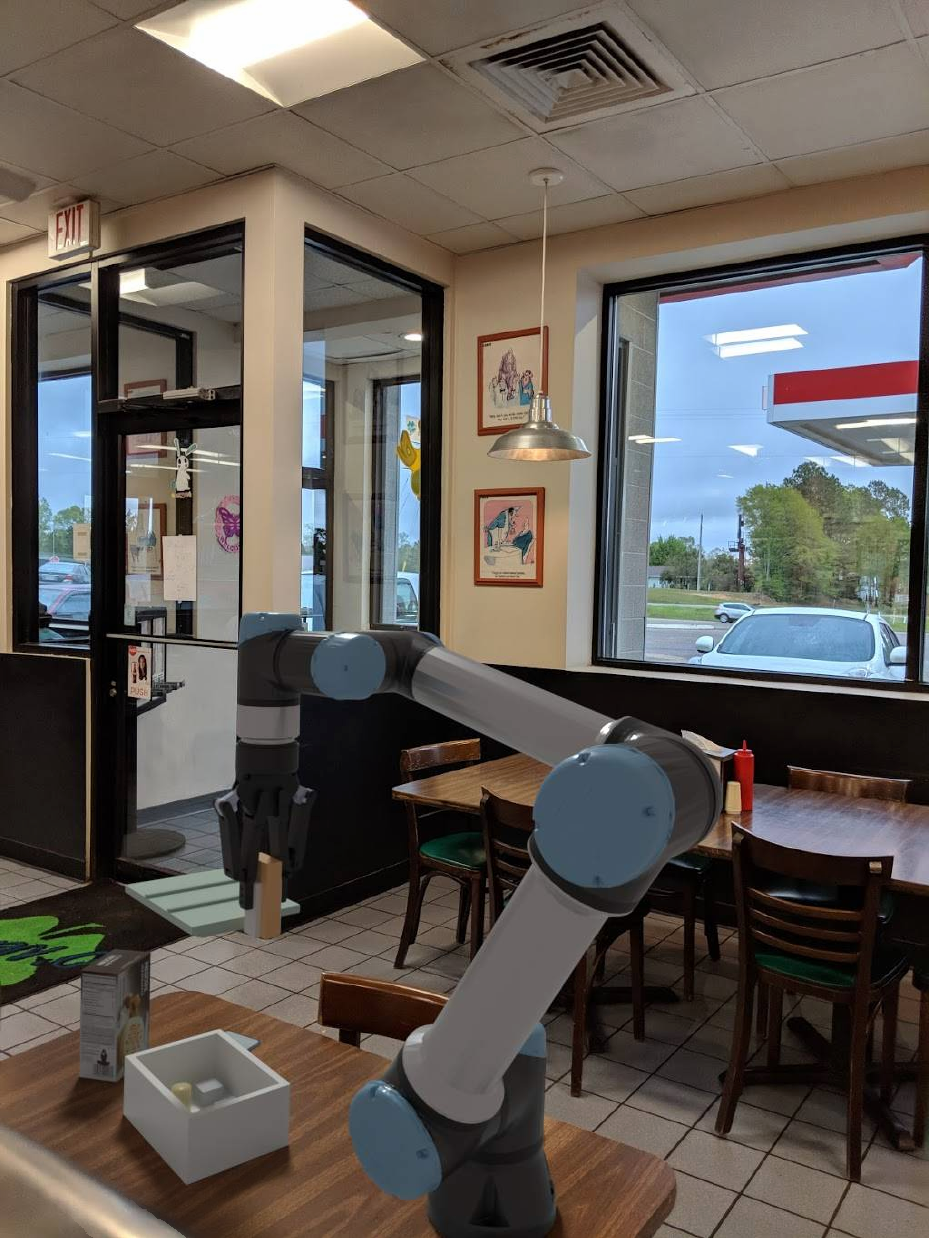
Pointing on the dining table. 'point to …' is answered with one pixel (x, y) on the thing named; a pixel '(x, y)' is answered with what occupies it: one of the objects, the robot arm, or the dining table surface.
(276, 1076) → the tub
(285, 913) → the lid
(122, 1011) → the coffee box
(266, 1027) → the dining table surface
